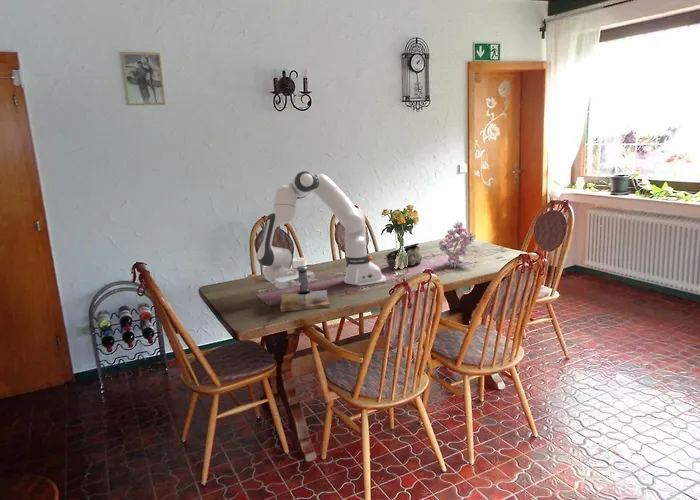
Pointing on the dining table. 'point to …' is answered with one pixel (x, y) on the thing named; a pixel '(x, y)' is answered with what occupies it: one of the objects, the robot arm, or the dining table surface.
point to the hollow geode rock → (411, 253)
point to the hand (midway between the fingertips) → (304, 282)
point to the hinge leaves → (304, 297)
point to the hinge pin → (303, 279)
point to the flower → (447, 244)
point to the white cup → (299, 262)
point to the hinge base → (305, 306)
